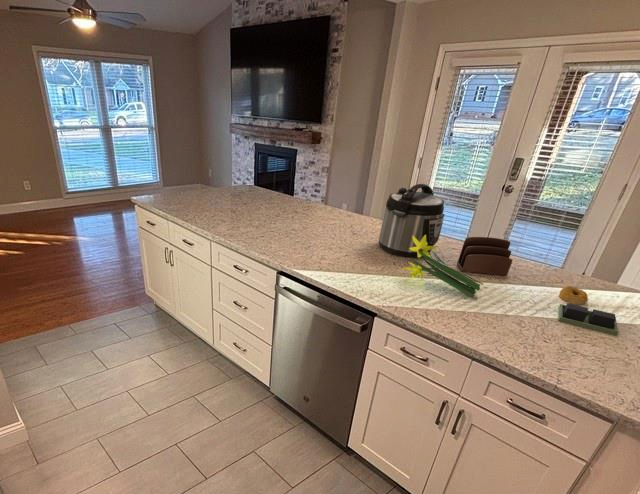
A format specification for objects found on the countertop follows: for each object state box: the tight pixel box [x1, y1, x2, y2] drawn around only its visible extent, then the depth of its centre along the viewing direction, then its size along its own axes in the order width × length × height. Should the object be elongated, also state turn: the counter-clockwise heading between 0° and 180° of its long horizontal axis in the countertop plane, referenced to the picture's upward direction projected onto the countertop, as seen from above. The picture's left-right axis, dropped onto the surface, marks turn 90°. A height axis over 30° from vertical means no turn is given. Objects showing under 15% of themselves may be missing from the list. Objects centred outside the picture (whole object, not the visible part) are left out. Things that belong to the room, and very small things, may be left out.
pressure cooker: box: [378, 183, 445, 258], centre depth 203 cm, size 30×28×32 cm
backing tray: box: [557, 303, 619, 337], centre depth 152 cm, size 18×14×2 cm
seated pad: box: [563, 302, 589, 322], centre depth 153 cm, size 6×5×4 cm
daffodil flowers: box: [402, 235, 484, 299], centre depth 172 cm, size 17×15×35 cm
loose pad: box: [588, 308, 617, 329], centre depth 150 cm, size 6×5×4 cm
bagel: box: [558, 285, 589, 306], centre depth 167 cm, size 10×11×5 cm
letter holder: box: [456, 236, 514, 276], centre depth 189 cm, size 10×20×14 cm, turn 80°
